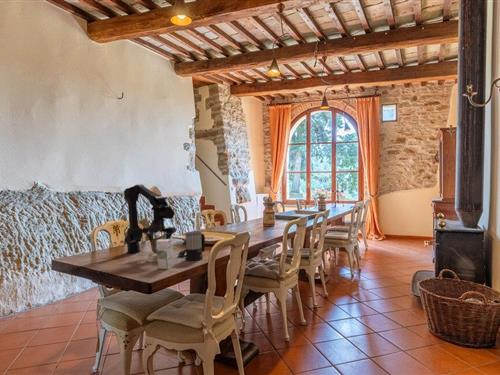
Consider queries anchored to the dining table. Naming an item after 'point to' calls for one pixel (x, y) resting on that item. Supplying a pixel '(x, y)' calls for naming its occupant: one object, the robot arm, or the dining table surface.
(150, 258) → the pale block
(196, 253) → the milk frother
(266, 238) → the dining table surface
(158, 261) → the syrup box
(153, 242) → the tin
